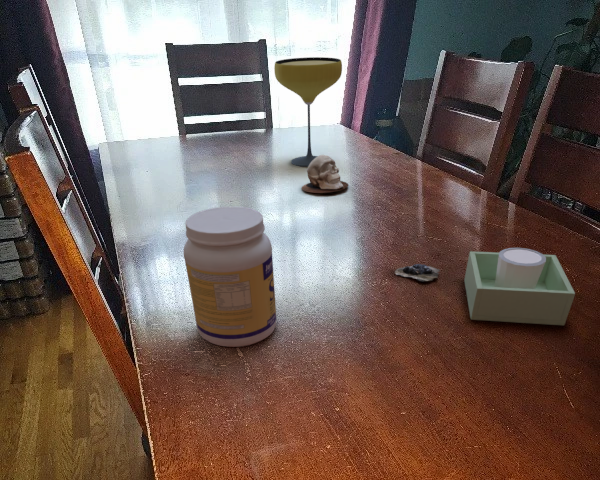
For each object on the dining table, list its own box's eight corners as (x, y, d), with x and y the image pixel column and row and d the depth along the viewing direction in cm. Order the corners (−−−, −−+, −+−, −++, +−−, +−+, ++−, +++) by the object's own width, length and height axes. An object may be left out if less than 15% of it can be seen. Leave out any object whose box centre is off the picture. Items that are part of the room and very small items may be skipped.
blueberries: (436, 286, 87) (437, 276, 86) (389, 280, 89) (390, 270, 88) (441, 269, 92) (443, 260, 91) (397, 264, 94) (398, 254, 93)
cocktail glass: (277, 155, 157) (271, 59, 142) (334, 152, 159) (336, 56, 143) (281, 172, 143) (276, 66, 128) (345, 168, 145) (347, 63, 129)
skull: (361, 183, 129) (342, 156, 121) (337, 217, 130) (316, 192, 122) (331, 171, 137) (311, 145, 129) (309, 204, 138) (287, 180, 130)
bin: (546, 284, 87) (555, 254, 83) (564, 325, 76) (575, 293, 73) (464, 280, 89) (469, 251, 85) (470, 319, 78) (477, 288, 75)
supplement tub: (286, 342, 75) (280, 228, 64) (203, 357, 72) (183, 241, 62) (266, 303, 84) (258, 199, 73) (192, 316, 81) (173, 209, 71)
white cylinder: (538, 293, 83) (551, 252, 78) (528, 311, 78) (540, 269, 74) (496, 284, 86) (505, 243, 81) (483, 300, 81) (493, 259, 77)
